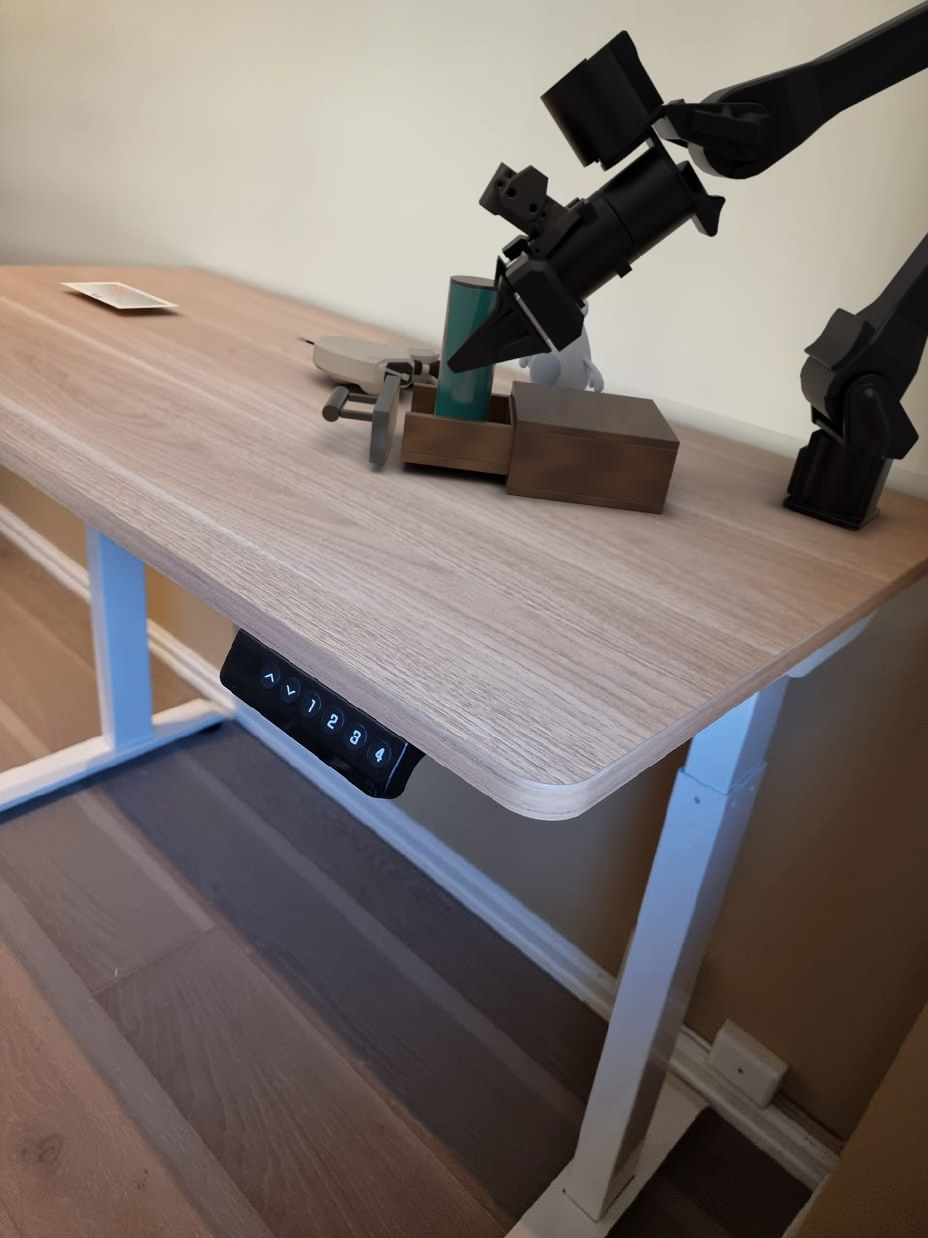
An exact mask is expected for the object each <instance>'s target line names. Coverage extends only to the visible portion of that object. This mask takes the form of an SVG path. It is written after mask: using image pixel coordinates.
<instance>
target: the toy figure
mask: <svg viewBox="0 0 928 1238" xmlns="http://www.w3.org/2000/svg"><path fill="white" fill-rule="evenodd" d="M583 302H584V303H585V305H586V306H585V307H583V308H582V309H581V311H582V313H583V314H584V316H585V318H586V317H587V315H588V314H589V306H590V304H589V301H588V298H586V299H585V300H584V301H583ZM548 342H549V343H550V345H551V348H552V352H550V353H548V354H545V353H541V354H537V355H532V356H527V357H523V358H518V365H519V367H520V368H521V369H526V368H529V370H528V375H529V380H530V383H535V384H543V385H550V386H557V387H565V388H572V389H579V390H586V389H587V388H590V389H592V388H593V391H594V392H601V393H603V391H604V388H605V381H604V378H603V375H602V373H601V371H600V370H599V368H598V367H597V366H596V365H595V364H594V362H593V361H592V351H591V345H590V341H589V336H588V332H587V329H586V325H585V324H583V329H582V334H581V336H580V337H579V338H578V339H576V340H575V341H574V342H572V343H571V344H570V345H568V346H567V347H566V348H564V349H563V350H562V351H560V352H559V351H558V350H557V349H556V348H555V346H554V345H553V344H552V342H551V341H550V339H548Z"/></svg>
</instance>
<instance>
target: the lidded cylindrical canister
mask: <svg viewBox="0 0 928 1238" xmlns="http://www.w3.org/2000/svg"><path fill="white" fill-rule="evenodd" d="M498 285H499V281H497V280H494V279H492V278H488V277H482V276H475V275H462V274H461V275H459V274H456V275H451V276H449V282H448V288H447V289H448V291H447V299H446V307H445V315H444V316H445V317H444V324H443V333H442V334H443V335H442V340H441V341H442V342H441V351H440V358H439V360H440V367H439V376H438V379H437V384H436V385H437V393H436V402H435V410H434V415H438V416H446V417H453V418H461V419H468V420H476V421H483V422H487V421H488V414H489V407H490V400H491V393H493V386H494V385H493V384H494V379H495V371H496V365H497V364H493V365H489V366H485V367H481V368H477V369H473V370H469V371H465V372H461V373H457V374H455V373H453V372H452V370H451V369H450V368H449V367H448V365H447V360H448V359H449V358H450V357H451V356H452V354H453V353H454V352H455V351H456V350H457V349H458V348H459V346H460V345H461V344H462V343H463V342H464V341H465V340H466V339H467V338H468V336H469V335H470V334H471V333H472V332H473V331H474V330H475V329H476V328H477V327H478V325H479V324H480V323H481V322H482V321H483V320H484V319H485V318H486V317H487V316H488V314H489V313H490V312H491V311H492V310H493V309H494V307H495V305H496V299H497V292H498Z"/></svg>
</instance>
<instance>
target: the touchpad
mask: <svg viewBox="0 0 928 1238" xmlns="http://www.w3.org/2000/svg"><path fill="white" fill-rule="evenodd" d="M60 284H61V285H63V286H66V287H68V288H71V289H72V290H75V291H77V292H79V293H82V294H85V295H87V296H89V297H91V298H93V299H96V300H98V301H101V302H103V303H105V304H107V305H110V306H112V307H114V308H116V309H118V310H119V309H121V310H123V309H148V308H150V309H151V308H178V307H180V306H179V305H177V304H175V303H172V302H169V301H167V300H165V299H163V298H160V297H157V296H154V295H152V294H149V293H147V292H145V291H142V290H140V289H137V288H134V287H132V286H129V285H127V284H126V283H125V284H124V283H122V282H119V281H95V282H93V281H91V282H88V281H87V282H83V281H82V282H60Z"/></svg>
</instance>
